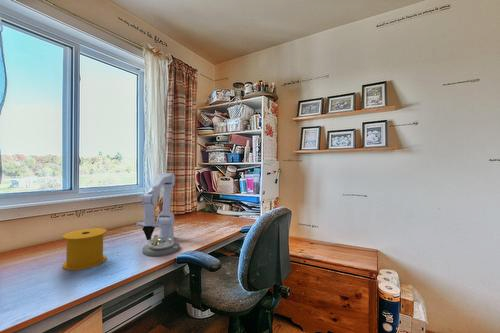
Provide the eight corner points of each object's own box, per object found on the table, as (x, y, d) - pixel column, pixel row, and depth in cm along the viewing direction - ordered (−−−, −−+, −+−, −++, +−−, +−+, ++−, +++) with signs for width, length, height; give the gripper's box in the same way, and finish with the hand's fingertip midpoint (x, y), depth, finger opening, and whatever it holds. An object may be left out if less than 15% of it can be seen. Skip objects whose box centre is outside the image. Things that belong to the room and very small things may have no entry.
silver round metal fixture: (157, 241, 142) (157, 228, 142) (178, 242, 140) (178, 230, 140) (143, 249, 129) (143, 235, 129) (166, 251, 126) (166, 236, 126)
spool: (110, 262, 116) (110, 233, 116) (64, 274, 103) (65, 240, 103) (101, 252, 129) (102, 226, 129) (60, 261, 116) (60, 232, 116)
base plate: (155, 243, 146) (155, 239, 146) (185, 245, 143) (185, 241, 143) (134, 255, 126) (134, 250, 126) (168, 257, 123) (168, 253, 123)
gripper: (132, 216, 127) (132, 240, 127) (157, 217, 125) (156, 242, 125) (140, 213, 134) (140, 237, 134) (163, 214, 131) (163, 238, 131)
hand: (148, 239), depth 130 cm, fingers closed
